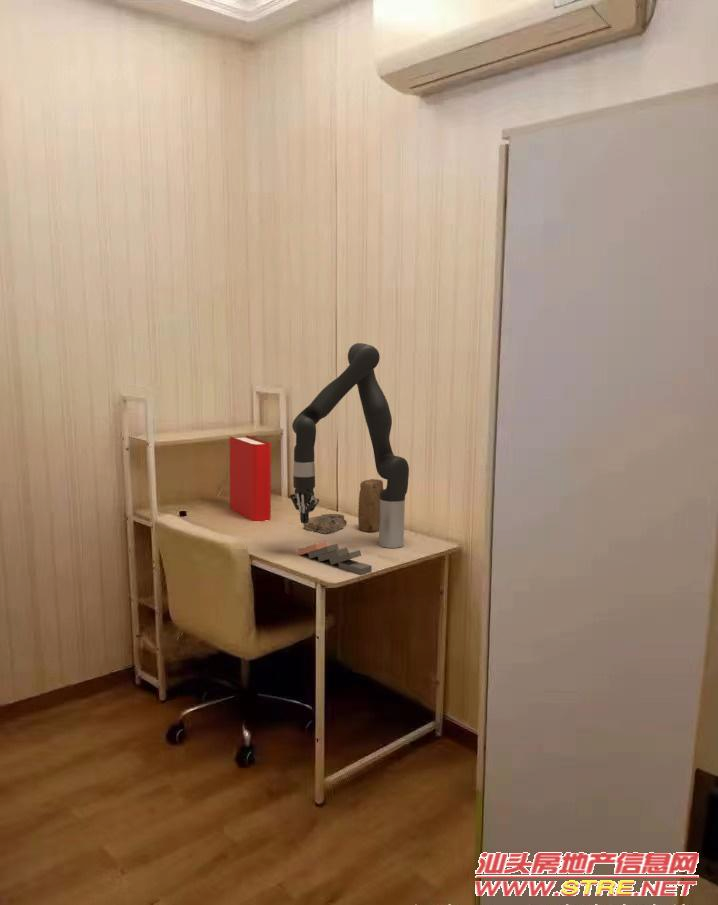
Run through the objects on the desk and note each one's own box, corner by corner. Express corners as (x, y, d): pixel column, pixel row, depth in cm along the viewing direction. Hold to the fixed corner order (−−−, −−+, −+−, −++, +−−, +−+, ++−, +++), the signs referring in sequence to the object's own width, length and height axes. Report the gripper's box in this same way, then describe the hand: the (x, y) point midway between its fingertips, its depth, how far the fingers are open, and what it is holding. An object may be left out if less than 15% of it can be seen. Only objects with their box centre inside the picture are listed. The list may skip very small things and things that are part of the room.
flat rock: (328, 520, 306) (298, 529, 290) (328, 508, 305) (298, 517, 289) (356, 526, 298) (327, 535, 282) (356, 514, 298) (327, 523, 281)
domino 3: (317, 556, 248) (336, 550, 241) (328, 553, 251) (347, 547, 245) (319, 562, 248) (338, 556, 241) (329, 559, 251) (349, 553, 244)
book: (229, 508, 322) (229, 436, 317) (247, 506, 326) (246, 435, 321) (254, 522, 299) (253, 444, 294) (272, 520, 303) (272, 443, 298)
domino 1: (297, 549, 255) (315, 543, 248) (308, 546, 258) (326, 541, 251) (299, 555, 254) (317, 549, 248) (310, 552, 258) (328, 546, 251)
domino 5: (338, 562, 241) (361, 568, 234) (349, 559, 245) (371, 565, 238) (338, 568, 241) (361, 575, 234) (349, 565, 245) (371, 571, 238)
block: (370, 533, 285) (371, 483, 282) (356, 530, 290) (357, 480, 287) (388, 528, 293) (389, 479, 290) (374, 525, 298) (375, 477, 295)
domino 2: (307, 552, 251) (326, 546, 244) (318, 550, 255) (337, 543, 248) (309, 558, 251) (328, 552, 244) (320, 556, 254) (338, 549, 247)
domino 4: (329, 558, 244) (349, 552, 237) (340, 555, 247) (359, 549, 240) (331, 564, 244) (350, 559, 237) (341, 561, 247) (361, 555, 240)
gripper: (325, 475, 250) (325, 524, 253) (299, 470, 259) (299, 517, 262) (309, 478, 245) (309, 528, 248) (283, 472, 254) (283, 521, 257)
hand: (304, 522), depth 255 cm, fingers closed
